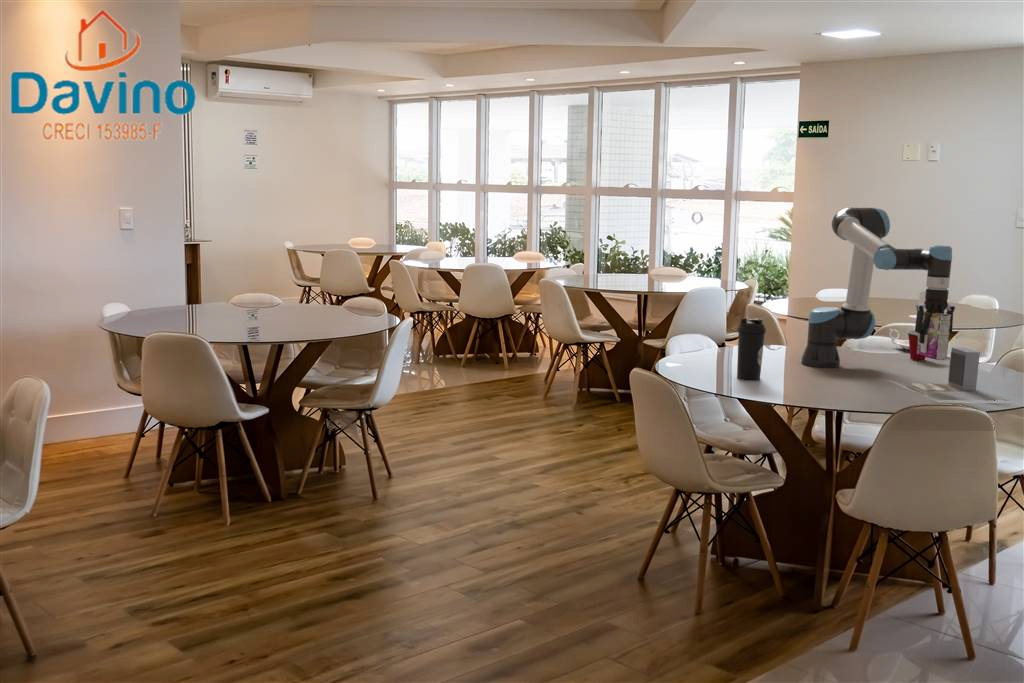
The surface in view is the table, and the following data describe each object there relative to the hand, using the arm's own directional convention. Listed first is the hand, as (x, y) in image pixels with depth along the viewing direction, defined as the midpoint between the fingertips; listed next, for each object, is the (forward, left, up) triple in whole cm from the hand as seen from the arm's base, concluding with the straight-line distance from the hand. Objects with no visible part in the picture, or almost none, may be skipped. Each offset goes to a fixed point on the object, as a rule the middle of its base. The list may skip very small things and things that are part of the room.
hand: (931, 352), depth 361 cm
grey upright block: (+13, 0, -13) cm, 18 cm away
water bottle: (-61, +19, -14) cm, 65 cm away
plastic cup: (+29, +63, -14) cm, 71 cm away
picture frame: (+5, 0, -14) cm, 15 cm away
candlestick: (+40, +88, -14) cm, 98 cm away
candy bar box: (0, 0, -2) cm, 2 cm away
